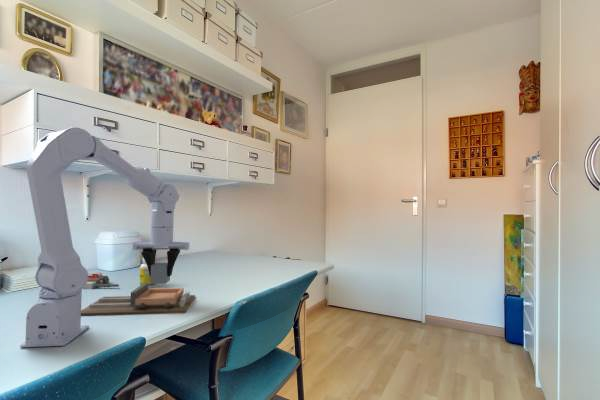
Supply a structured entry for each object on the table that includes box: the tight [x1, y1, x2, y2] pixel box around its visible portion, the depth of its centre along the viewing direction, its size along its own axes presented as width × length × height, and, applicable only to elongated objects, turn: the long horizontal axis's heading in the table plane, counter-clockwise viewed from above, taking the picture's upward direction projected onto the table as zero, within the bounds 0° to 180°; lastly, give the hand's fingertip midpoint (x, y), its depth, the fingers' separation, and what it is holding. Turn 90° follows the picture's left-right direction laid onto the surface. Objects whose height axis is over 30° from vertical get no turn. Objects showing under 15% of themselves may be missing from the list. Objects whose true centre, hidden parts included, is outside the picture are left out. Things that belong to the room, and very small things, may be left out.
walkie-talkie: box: [82, 271, 120, 290], centre depth 105 cm, size 9×4×20 cm
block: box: [150, 262, 171, 285], centre depth 85 cm, size 4×4×5 cm
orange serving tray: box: [130, 283, 185, 309], centre depth 86 cm, size 12×11×4 cm
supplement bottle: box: [139, 257, 158, 289], centre depth 106 cm, size 5×5×10 cm
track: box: [81, 290, 196, 317], centre depth 85 cm, size 14×26×3 cm, turn 99°
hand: (160, 275), depth 85 cm, fingers closed on block, 4 cm apart
